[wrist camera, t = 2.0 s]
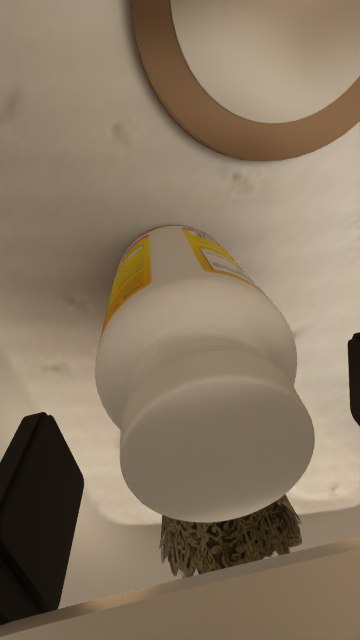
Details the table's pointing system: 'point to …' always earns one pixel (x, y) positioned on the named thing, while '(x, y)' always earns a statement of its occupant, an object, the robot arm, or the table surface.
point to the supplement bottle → (200, 381)
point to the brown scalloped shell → (229, 539)
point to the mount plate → (254, 71)
